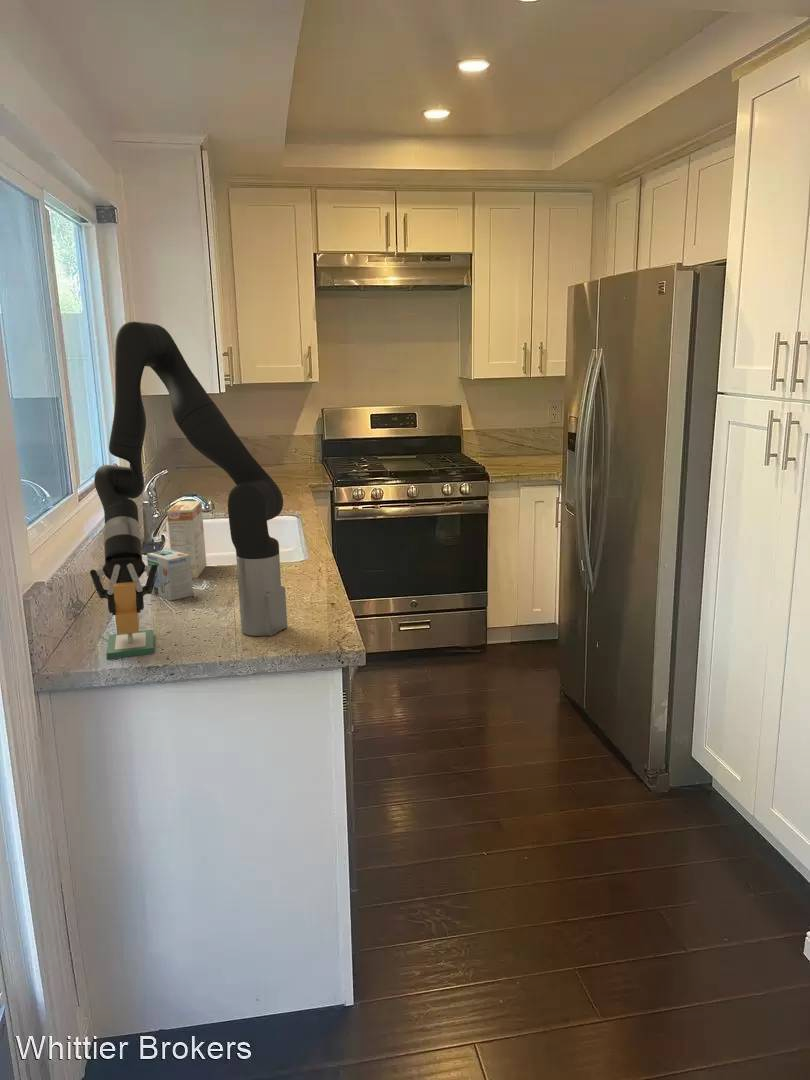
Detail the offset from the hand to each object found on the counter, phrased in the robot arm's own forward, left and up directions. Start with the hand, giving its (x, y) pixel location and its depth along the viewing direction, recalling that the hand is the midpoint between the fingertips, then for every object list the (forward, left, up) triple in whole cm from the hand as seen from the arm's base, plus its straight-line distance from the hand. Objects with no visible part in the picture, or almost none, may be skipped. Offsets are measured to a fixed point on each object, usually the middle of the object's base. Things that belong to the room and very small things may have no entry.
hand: (126, 611), depth 159 cm
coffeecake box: (+32, -53, -8) cm, 63 cm away
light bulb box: (+21, -34, -8) cm, 41 cm away
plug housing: (+3, -2, -4) cm, 5 cm away
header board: (+1, -1, -8) cm, 8 cm away
